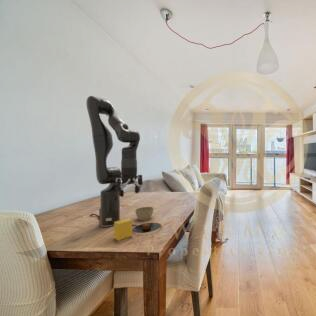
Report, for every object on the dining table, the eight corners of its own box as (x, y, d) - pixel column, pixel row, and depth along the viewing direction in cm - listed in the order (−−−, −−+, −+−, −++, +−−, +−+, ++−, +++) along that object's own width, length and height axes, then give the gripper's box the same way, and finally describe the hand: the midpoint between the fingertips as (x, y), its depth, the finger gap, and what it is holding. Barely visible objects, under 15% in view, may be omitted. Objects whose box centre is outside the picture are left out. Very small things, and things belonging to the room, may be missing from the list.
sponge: (114, 240, 85) (114, 221, 85) (127, 236, 90) (127, 218, 90) (118, 243, 82) (118, 224, 82) (132, 238, 87) (131, 220, 87)
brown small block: (142, 229, 95) (142, 225, 95) (145, 227, 98) (145, 223, 98) (147, 229, 95) (147, 225, 95) (150, 227, 98) (150, 223, 98)
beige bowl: (146, 223, 106) (146, 211, 106) (131, 222, 108) (131, 210, 108) (156, 218, 116) (156, 207, 116) (143, 217, 118) (143, 206, 118)
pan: (115, 231, 95) (115, 228, 95) (137, 222, 108) (137, 219, 108) (148, 236, 89) (148, 233, 89) (166, 226, 103) (166, 223, 103)
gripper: (137, 164, 107) (137, 190, 109) (111, 166, 95) (112, 196, 96) (145, 165, 104) (145, 192, 106) (120, 168, 91) (120, 199, 93)
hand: (129, 194), depth 101 cm, fingers open, 8 cm apart
